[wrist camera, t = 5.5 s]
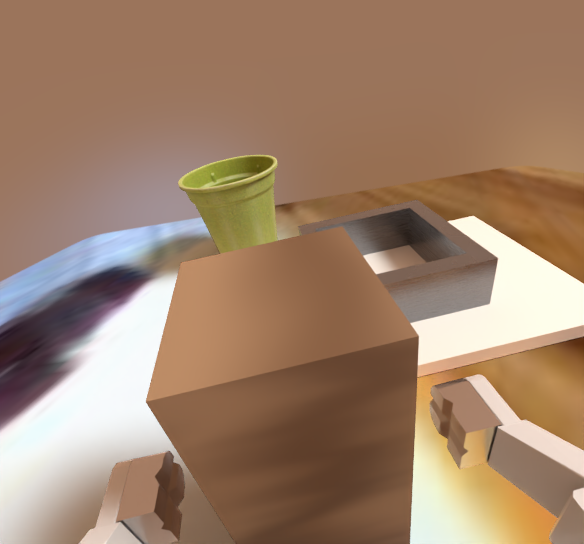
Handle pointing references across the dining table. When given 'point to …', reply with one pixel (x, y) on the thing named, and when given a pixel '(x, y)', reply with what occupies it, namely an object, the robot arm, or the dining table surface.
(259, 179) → the plant pot
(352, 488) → the walnut post
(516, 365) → the dining table surface
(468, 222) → the base plate
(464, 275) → the steel collar
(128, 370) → the dining table surface
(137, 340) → the dining table surface
